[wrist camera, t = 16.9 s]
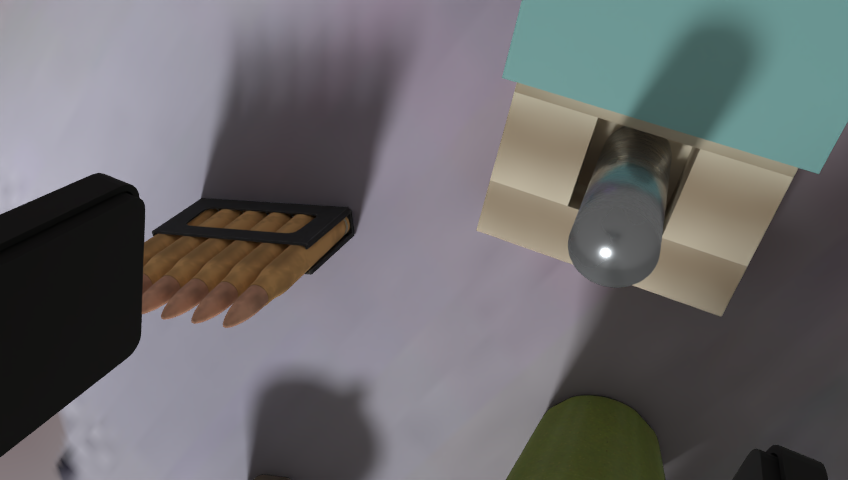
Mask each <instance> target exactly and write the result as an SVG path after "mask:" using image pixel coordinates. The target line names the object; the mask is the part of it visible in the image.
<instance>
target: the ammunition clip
mask: <svg viewBox="0 0 848 480" xmlns="http://www.w3.org/2000/svg"><path fill="white" fill-rule="evenodd" d="M152 234H153V236H154V237H152V238H151V239H149V240H147V241H146V242H144V260H143V291H142V314H145V313H148V312H150V311H153V310H155V309H157V308H159V307H161V306H162V305H164V304H166V303H167V302H168V303H167V305H166V306H165V308H164V310H163V312H162V315H161V318H162V319H170V318H174V317H176V316H179V315H181V314H183V313H185V312H187V311H189V310H190V309H192V308H194V307H195V306H197V305H198V304H199V303H200V304H199V305H198V307H197V308H196V310H195V312H194V314H193V317H192V320H191V321H192V323H194V324H196V323H201V322H204V321H206V320H209V319H211V318H213V317H215V316H217V315H218V314H220V313H221V312H223V311H224V310H226V309H227V308H228V307H229V306H231V305H232V304H233V305H232V306H231V307H230V309H229V311H228V312H227V314H226V316H225V319H224V322H223V327H225V328H229V327H233V326H236V325H238V324H240V323H242V322H244V321H246V320H247V319H249V318H250V317H252V316H253V315H255V314H256V313H257V312H258V311H259V310H260V309H262V308H263V307H264V306H266V305H267V304H268V303H269V302H270V301H272V300H273V299H274V298H276V297H278V296H280V295H281V294H283V293H284V292H285V291H287V290H288V289H289V288H290V287H291V286H292V285H293V284H294V283H295V282H296V281H297V280H298V279H299V278H300V277H301V276H302V275H303V274H313V273H314V272H315V271H316V270H317V269H318V268H319V267H320V266H322V265H323V264H324V263H325V262H326V261H327V260H328V259H329V258H330V257H331V256H332V255H334V254H335V253H336V252H337V251H338V250H339V249H340V248H341V247H342V246H343V245H344V244H346V243H347V242H348V241H349V240H350V239H351V238H352V237H353V236H354V231H353V223H352V216H351V210H350V209H349V208H348V207H335V206H318V205H302V204H286V203H270V202H254V201H238V200H222V199H206V198H201V199H200V200H198V201H197V202H195V203H194V204H192V205H191V206H189V207H188V208H186V209H185V210H183V211H182V212H180V213H179V214H177V215H176V216H174V217H173V218H171V219H170V220H168V221H167V222H165V223H164V224H162V225H161V226H159V227H158V228H156V229H155V230H153V231H152Z"/></svg>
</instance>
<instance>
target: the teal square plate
mask: <svg viewBox="0 0 848 480" xmlns="http://www.w3.org/2000/svg"><path fill="white" fill-rule="evenodd" d="M502 78H504V79H508V80H511V81H514V82H518V83H521V84H524V85H527V86H531V87H534V88H537V89H541V90H544V91H547V92H550V93H554V94H557V95H560V96H564V97H567V98H570V99H574V100H577V101H580V102H583V103H587V104H590V105H593V106H597V107H600V108H603V109H606V110H610V111H613V112H616V113H620V114H623V115H626V116H629V117H633V118H636V119H639V120H643V121H646V122H649V123H652V124H656V125H659V126H662V127H666V128H669V129H672V130H675V131H679V132H682V133H685V134H689V135H692V136H695V137H698V138H702V139H705V140H708V141H712V142H715V143H718V144H722V145H725V146H728V147H731V148H735V149H738V150H741V151H745V152H748V153H751V154H754V155H758V156H761V157H764V158H768V159H771V160H774V161H777V162H781V163H784V164H787V165H791V166H794V167H797V168H800V169H804V170H807V171H810V172H814V173H817V174H819V173H820V171H821V169H822V167H823V165H824V164H825V162H826V160H827V158H828V156H829V155H830V153H831V151H832V149H833V147H834V145H835V144H836V142H837V140H838V138H839V136H840V134H841V133H842V131H843V129H844V127H845V125H846V124H847V122H848V0H522V2H521V6H520V10H519V14H518V18H517V22H516V26H515V29H514V33H513V37H512V41H511V45H510V49H509V53H508V57H507V61H506V65H505V68H504V72H503V76H502Z"/></svg>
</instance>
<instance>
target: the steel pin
mask: <svg viewBox="0 0 848 480" xmlns="http://www.w3.org/2000/svg"><path fill="white" fill-rule="evenodd" d="M671 160H672V152H671V147H670V144H669V142H668V140H667V139H666V138H663V137H659V136H656V135H653V134H650V133H646V132H643V131H640V130H637V129H633V128H630V127H627V126H623V127H621V128H619V129H617V130H616V131H615V132H613V133H612V134H611V135H610V136H609V137H608V139H607V140H606V142H605V144H604V146H603V149H602V151H601V154H600V157H599V159H598V162H597V164H596V167H595V170H594V172H593V175H592V177H591V180H590V182H589V185H588V188H587V190H586V193H585V195H584V198H583V201H582V203H581V206H580V208H579V211H578V214H577V216H576V219H575V221H574V224H573V226H572V229H571V232H570V234H569V238H568V252H569V256H570V259H571V261H572V263H573V265H574V266H575V268H576V269H577V270H578V271H579V272H580V273H581V274H582V275H583V276H584V277H585V278H587V279H588V280H590V281H592V282H594V283H596V284H599V285H602V286H606V287H614V288H619V287H627V286H631V285H634V284H636V283H639V282H640V281H642V280H644V279H645V278H646V277H648V276H649V275H650V274H651V273H652V271H653V270H654V269H655V267H656V265H657V263H658V260H659V256H660V250H661V242H662V233H663V225H664V217H665V209H666V201H667V193H668V184H669V176H670V168H671Z"/></svg>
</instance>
